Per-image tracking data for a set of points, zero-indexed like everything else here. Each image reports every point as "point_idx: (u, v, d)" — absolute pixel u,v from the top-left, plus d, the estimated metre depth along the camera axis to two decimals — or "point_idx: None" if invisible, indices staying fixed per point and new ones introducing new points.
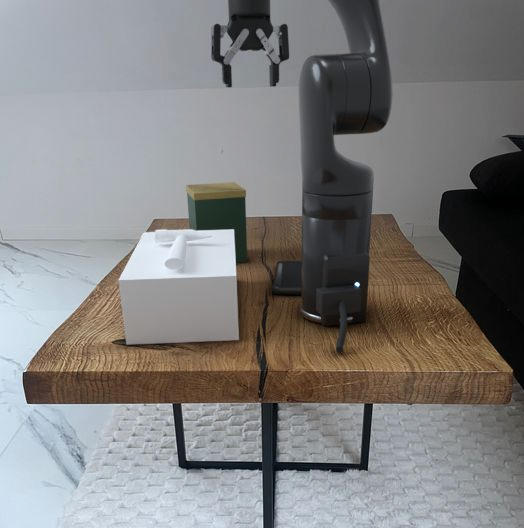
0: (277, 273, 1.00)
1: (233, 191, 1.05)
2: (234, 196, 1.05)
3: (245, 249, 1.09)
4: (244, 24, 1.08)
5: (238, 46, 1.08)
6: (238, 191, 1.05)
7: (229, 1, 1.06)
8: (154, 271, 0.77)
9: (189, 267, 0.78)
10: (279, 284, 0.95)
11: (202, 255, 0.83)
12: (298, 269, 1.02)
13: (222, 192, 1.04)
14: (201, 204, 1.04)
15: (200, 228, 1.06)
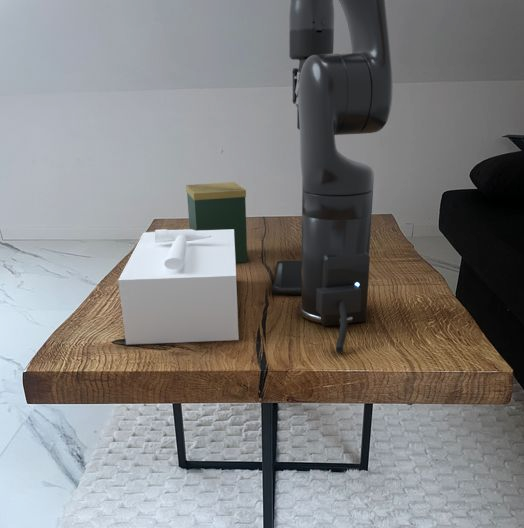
0: (277, 273, 1.00)
1: (233, 191, 1.05)
2: (234, 196, 1.05)
3: (245, 249, 1.09)
4: (302, 66, 1.05)
5: (297, 89, 1.07)
6: (238, 191, 1.05)
7: None
8: (154, 270, 0.77)
9: (188, 267, 0.78)
10: (279, 284, 0.95)
11: (202, 255, 0.83)
12: (298, 269, 1.02)
13: (222, 192, 1.04)
14: (201, 204, 1.04)
15: (200, 228, 1.06)
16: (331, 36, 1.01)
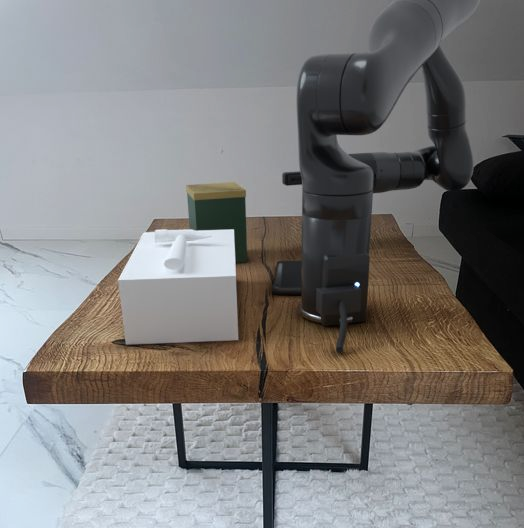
0: (277, 273, 1.00)
1: (233, 191, 1.05)
2: (234, 196, 1.05)
3: (245, 249, 1.09)
4: None
5: None
6: (238, 191, 1.05)
7: None
8: (154, 271, 0.77)
9: (188, 267, 0.78)
10: (279, 284, 0.95)
11: (202, 255, 0.83)
12: (298, 269, 1.02)
13: (222, 192, 1.04)
14: (201, 204, 1.04)
15: (200, 228, 1.06)
16: None
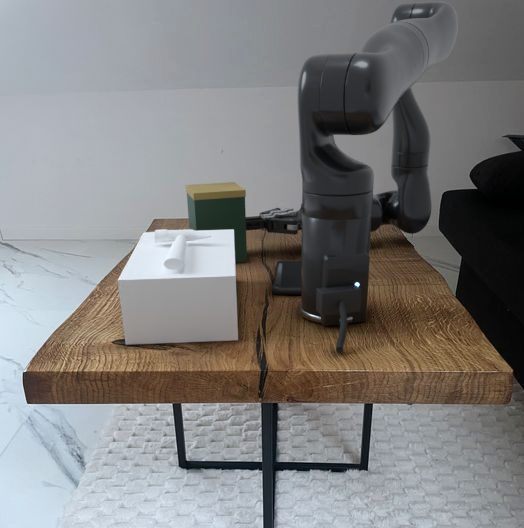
0: (277, 273, 1.00)
1: (233, 191, 1.05)
2: (234, 196, 1.05)
3: (245, 249, 1.09)
4: None
5: (278, 211, 1.14)
6: (238, 191, 1.05)
7: None
8: (154, 271, 0.77)
9: (188, 267, 0.78)
10: (279, 284, 0.95)
11: (201, 255, 0.83)
12: (298, 269, 1.02)
13: (222, 192, 1.04)
14: (201, 204, 1.04)
15: (200, 228, 1.06)
16: None
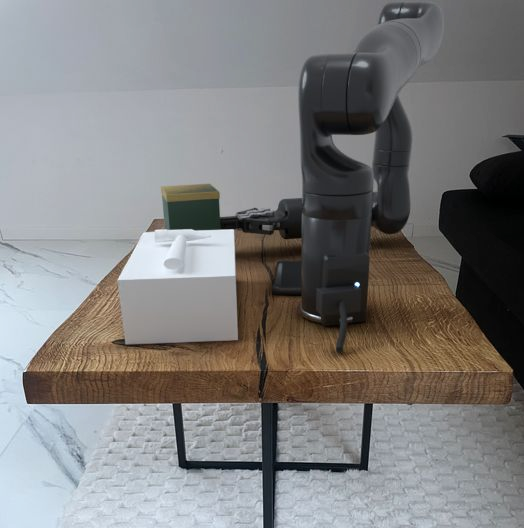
0: (277, 273, 1.00)
1: (206, 193, 1.04)
2: (208, 198, 1.04)
3: None
4: (273, 212, 1.14)
5: (254, 211, 1.13)
6: (211, 193, 1.04)
7: None
8: (154, 270, 0.77)
9: (188, 267, 0.78)
10: (279, 284, 0.95)
11: (201, 255, 0.83)
12: (298, 269, 1.02)
13: (195, 194, 1.03)
14: (174, 206, 1.03)
15: None
16: (302, 235, 1.13)
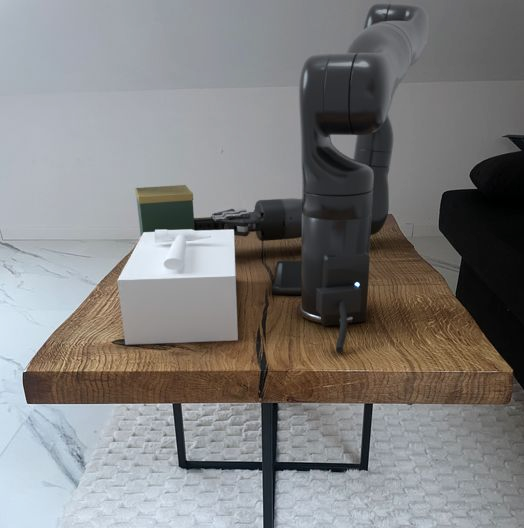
0: (277, 273, 1.00)
1: (180, 194, 1.03)
2: (181, 199, 1.03)
3: None
4: (250, 214, 1.13)
5: (230, 212, 1.12)
6: (185, 194, 1.03)
7: None
8: (153, 271, 0.77)
9: (188, 267, 0.78)
10: (279, 284, 0.95)
11: (201, 255, 0.83)
12: (298, 269, 1.02)
13: (168, 195, 1.02)
14: (147, 208, 1.02)
15: None
16: (278, 236, 1.12)
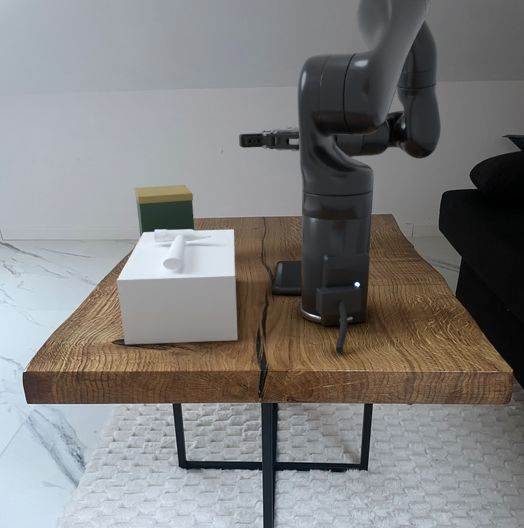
0: (277, 273, 1.00)
1: (179, 194, 1.03)
2: (180, 199, 1.03)
3: None
4: None
5: None
6: (184, 194, 1.03)
7: None
8: (153, 270, 0.77)
9: (187, 267, 0.78)
10: (279, 284, 0.95)
11: (201, 255, 0.83)
12: (298, 269, 1.02)
13: (168, 195, 1.02)
14: (146, 208, 1.02)
15: None
16: None
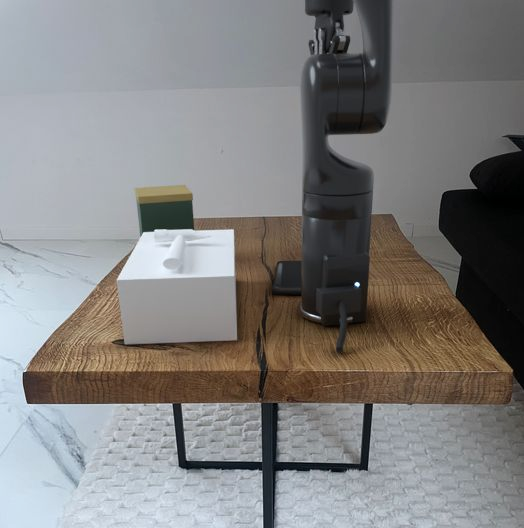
0: (277, 273, 1.00)
1: (179, 194, 1.03)
2: (180, 199, 1.03)
3: None
4: (319, 23, 0.95)
5: (316, 51, 0.97)
6: (184, 194, 1.03)
7: None
8: (153, 270, 0.77)
9: (187, 267, 0.78)
10: (279, 284, 0.95)
11: (201, 255, 0.83)
12: (298, 269, 1.02)
13: (168, 195, 1.02)
14: (146, 208, 1.02)
15: None
16: None
